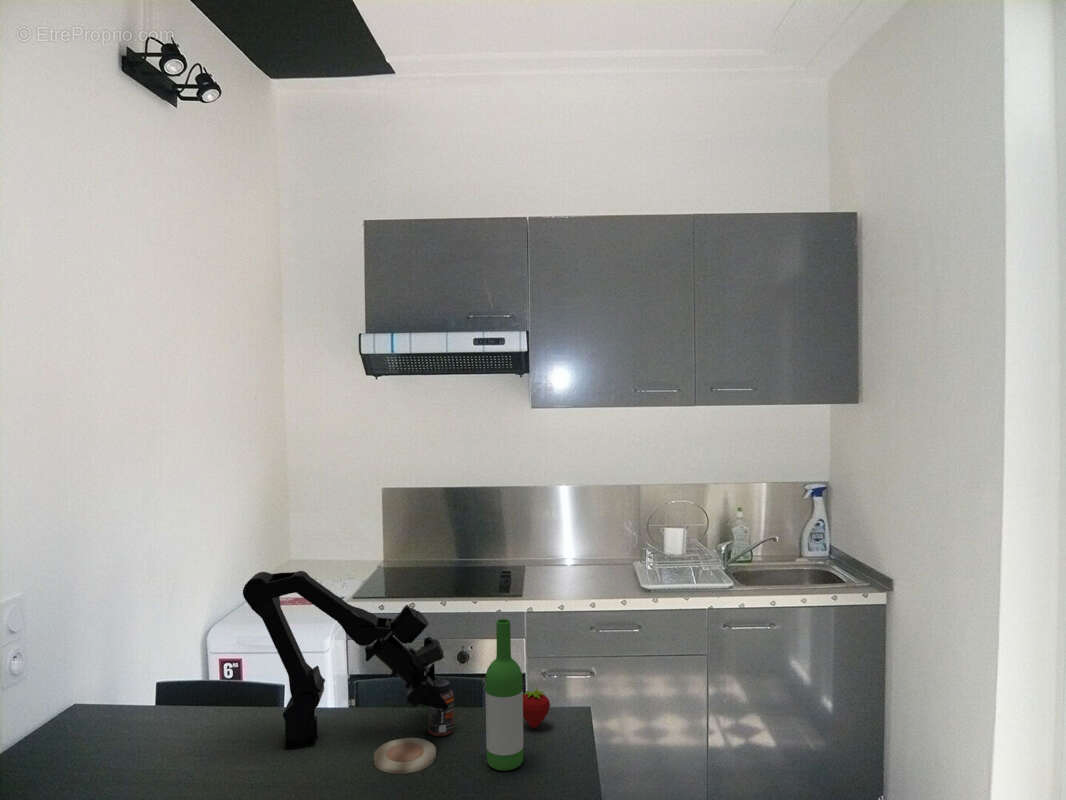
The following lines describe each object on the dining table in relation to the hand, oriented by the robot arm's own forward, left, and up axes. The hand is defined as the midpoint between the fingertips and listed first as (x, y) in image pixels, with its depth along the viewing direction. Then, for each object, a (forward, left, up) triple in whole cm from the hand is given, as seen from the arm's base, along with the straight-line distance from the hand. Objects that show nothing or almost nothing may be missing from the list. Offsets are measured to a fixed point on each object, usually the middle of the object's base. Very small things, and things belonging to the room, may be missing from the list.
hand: (446, 702), depth 169 cm
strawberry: (+20, -4, -7) cm, 21 cm away
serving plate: (-10, -10, -7) cm, 16 cm away
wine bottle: (+10, -18, -7) cm, 21 cm away
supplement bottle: (-1, 0, -7) cm, 7 cm away
